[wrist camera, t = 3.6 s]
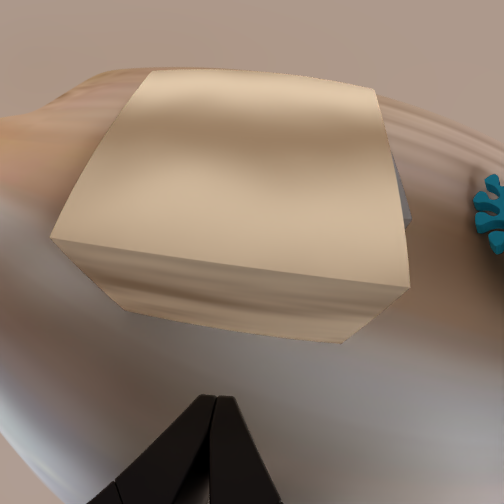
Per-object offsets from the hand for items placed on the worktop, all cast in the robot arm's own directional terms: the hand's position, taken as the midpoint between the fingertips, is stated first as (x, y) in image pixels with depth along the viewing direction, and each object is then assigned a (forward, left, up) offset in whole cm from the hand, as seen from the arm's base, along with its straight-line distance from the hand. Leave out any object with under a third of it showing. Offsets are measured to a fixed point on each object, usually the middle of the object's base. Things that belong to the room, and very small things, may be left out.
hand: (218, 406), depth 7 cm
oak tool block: (+9, 0, -7) cm, 11 cm away
